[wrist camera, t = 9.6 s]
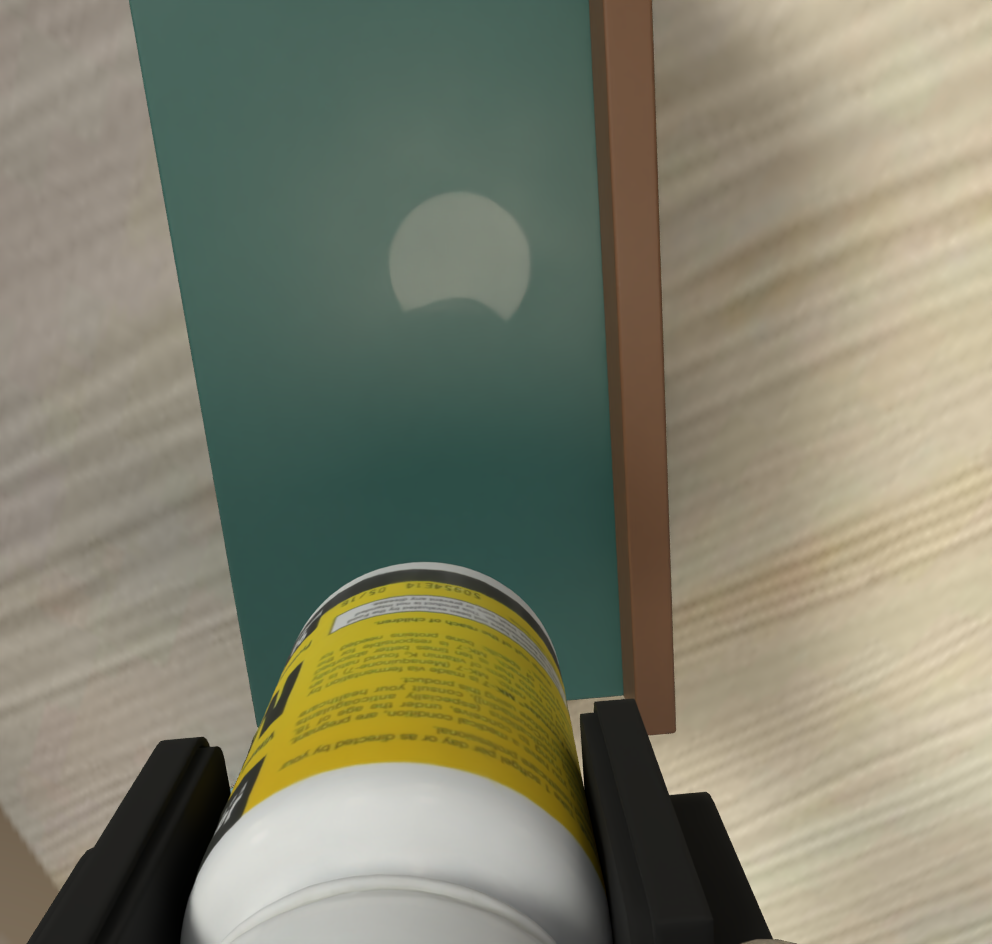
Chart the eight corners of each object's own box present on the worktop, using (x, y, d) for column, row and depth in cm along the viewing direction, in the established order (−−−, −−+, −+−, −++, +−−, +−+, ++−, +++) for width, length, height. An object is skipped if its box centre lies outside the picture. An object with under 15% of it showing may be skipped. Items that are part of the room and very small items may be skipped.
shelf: (298, 632, 29) (237, 773, 21) (182, -107, 23) (41, -276, 16) (622, 603, 29) (677, 734, 22) (585, -141, 24) (642, -327, 16)
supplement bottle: (279, 557, 14) (40, 962, 6) (561, 551, 15) (679, 942, 6) (299, 805, 16) (119, 1411, 8) (558, 797, 16) (654, 1384, 8)
